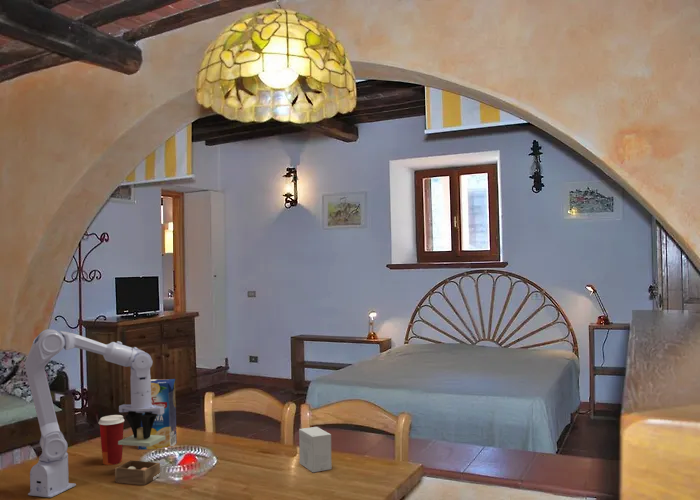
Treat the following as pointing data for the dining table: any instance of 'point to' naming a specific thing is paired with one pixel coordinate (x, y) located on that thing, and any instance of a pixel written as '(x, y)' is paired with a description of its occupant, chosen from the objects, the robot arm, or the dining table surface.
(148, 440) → the lid
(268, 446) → the dining table surface
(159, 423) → the beverage box
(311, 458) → the skincare box
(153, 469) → the box
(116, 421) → the paper cup
